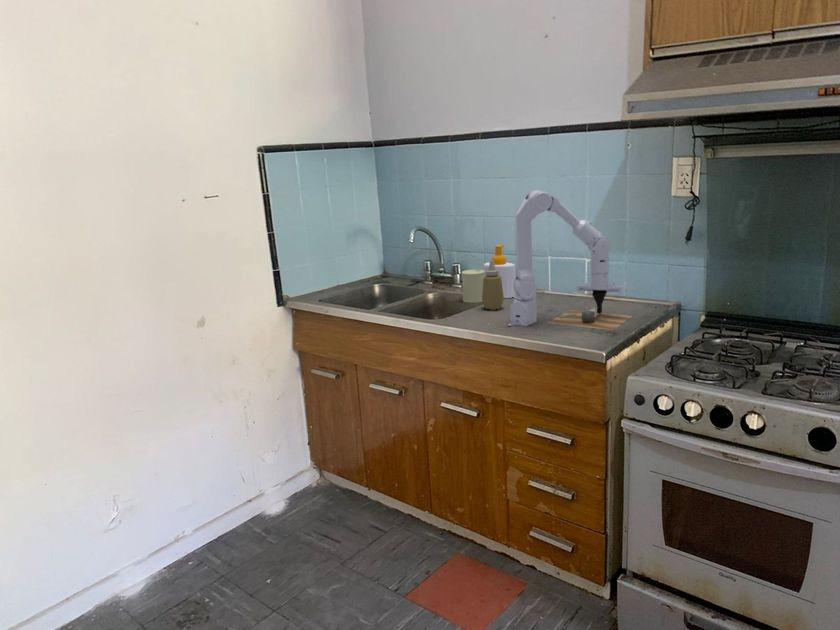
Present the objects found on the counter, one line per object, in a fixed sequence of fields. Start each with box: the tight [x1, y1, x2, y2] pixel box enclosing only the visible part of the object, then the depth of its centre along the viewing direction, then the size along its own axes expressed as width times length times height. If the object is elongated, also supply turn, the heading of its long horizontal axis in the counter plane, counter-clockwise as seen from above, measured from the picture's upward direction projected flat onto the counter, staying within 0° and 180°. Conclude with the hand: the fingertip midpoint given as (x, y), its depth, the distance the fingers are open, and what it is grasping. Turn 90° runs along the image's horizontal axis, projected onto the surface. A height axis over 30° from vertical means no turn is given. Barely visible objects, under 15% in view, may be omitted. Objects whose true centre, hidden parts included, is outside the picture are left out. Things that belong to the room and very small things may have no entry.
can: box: [461, 269, 485, 304], centre depth 247 cm, size 9×9×12 cm
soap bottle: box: [483, 244, 516, 299], centre depth 250 cm, size 13×8×20 cm, turn 56°
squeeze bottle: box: [482, 259, 505, 311], centre depth 231 cm, size 8×8×18 cm
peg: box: [582, 305, 600, 323], centre depth 208 cm, size 13×4×3 cm, turn 148°
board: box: [547, 309, 633, 331], centre depth 207 cm, size 19×22×1 cm
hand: (599, 312), depth 210 cm, fingers closed, pressing on peg
